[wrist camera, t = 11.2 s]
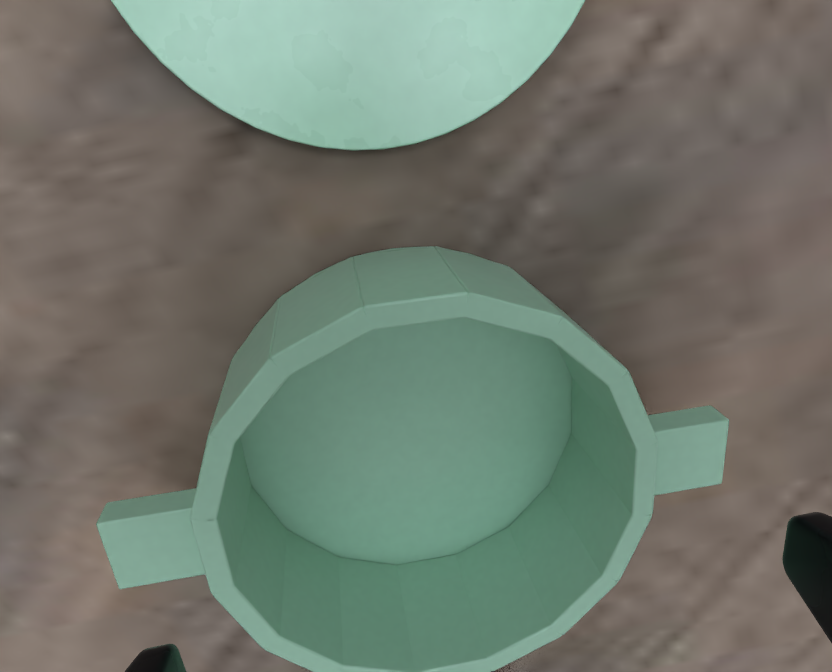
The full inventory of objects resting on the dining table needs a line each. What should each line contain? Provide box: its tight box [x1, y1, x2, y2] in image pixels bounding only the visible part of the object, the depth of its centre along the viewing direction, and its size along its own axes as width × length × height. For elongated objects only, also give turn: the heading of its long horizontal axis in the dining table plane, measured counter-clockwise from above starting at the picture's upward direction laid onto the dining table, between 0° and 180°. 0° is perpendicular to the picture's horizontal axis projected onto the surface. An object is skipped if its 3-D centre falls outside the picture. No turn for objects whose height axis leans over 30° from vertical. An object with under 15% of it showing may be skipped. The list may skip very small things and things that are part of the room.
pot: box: [96, 246, 729, 672], centre depth 20 cm, size 13×19×5 cm
